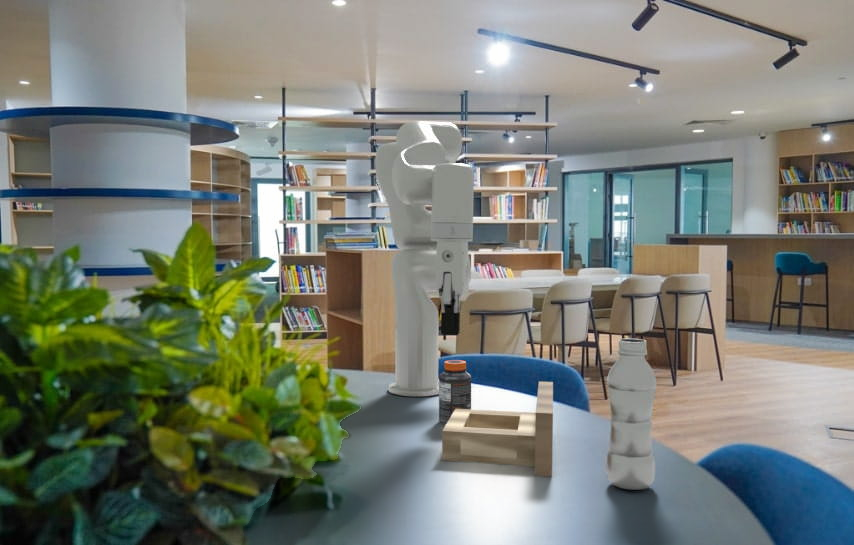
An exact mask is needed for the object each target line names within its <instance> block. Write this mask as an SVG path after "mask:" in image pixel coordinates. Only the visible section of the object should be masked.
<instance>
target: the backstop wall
mask: <svg viewBox="0 0 854 545" xmlns="http://www.w3.org/2000/svg"><path fill="white" fill-rule="evenodd" d="M535 413H536V425H535V466H534V476H538V477H553V436H554V434H553V432H554V431H553V427H554V425H553V423H554V382H553V381H538V387H537V396H536V406H535Z"/></svg>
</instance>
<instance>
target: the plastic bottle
mask: <svg viewBox="0 0 854 545" xmlns="http://www.w3.org/2000/svg"><path fill="white" fill-rule="evenodd" d="M647 344H648V343H647V340H645V339H641V338H640V339H639V338H619V340H618V349H617V354H619V356H618V359H616V361H615V362H614V363H613V365H612V367H611V368H610V370H609V371H608V375H607V377H606V380H607V392H608V397H609V406H610V408H609V410H610V434H609V445H608V450H607V454H606V461H605V472H606V478H607V479H608V481H609V482H610V483H611V484H612V485H613V486H615V487H617V488H620V489H625V490H631V491H632V490H637V491H638V490H645V489H648V488H650V487H651V485H652V484H653V483H654V480H655V474H656V464H655V457H654V453H653V441H652V439H653V438H652V419H653V407H654V401H655V397H656V396H655V395H656V388H657V379H656V378H657V377H656V374H655V372H654V370H653V369H652V367H651V365H650V364H649V362H648V361H647V359H646V357H645V356H647V355H648V350H647Z"/></svg>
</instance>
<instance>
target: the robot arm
mask: <svg viewBox="0 0 854 545" xmlns="http://www.w3.org/2000/svg"><path fill="white" fill-rule="evenodd" d="M462 147H463V137H462V133H461V131H460V130H459V128H458V126H457V125H456V124H453V123H452V122H448V121H432V120H431V121H429V120H428V121H427V120H412V121H411V120H410V121H408V122H406V123H404V124H402V125H401V126H400V128H399V129H397V132H396V137H395V141H391V142H388V143H384V144H382V145H381V146H379V147H378V149H377V150H376V153H375V157H374V161H375V162H374V164H375V165H374V167H375V174H376V178H377V182H378V186H379V188H380V190H381V193H382V194H383V196H384V198H385V200H386V203H387V206H388V209H389V210H388V211H389V216H390V217H389V218H390V225H391V229H392V230H391V231H392V236H393V237H392V238H393V239H394V243H395V246H396V247H397V248H398V249H399V250H400V251H398V252H396V253H395V255H393V258H392V260H391V276H392V281H393V289H394V299H395V300H394V301H395V302H394V303H395V308H394V309H395V344H394V345H395V354H394V356H395V362H394V364H395V365H394V366H395V368H394V369H395V373H394V374H395V375H394V376H395V378H394V380H395V381H394V382H391V383H390V384H388V392H389V393H390V394H394V395H397V396H403V397H415V398H417V397H419V398H420V397H431V396H432V397H433V396H437V395H438V396H439V332H440V333H441V335H442V336H458V335H459V334H460V329H461V327H460V326H461V323H460V322H461V320H460V319H461V311H460V303H461V300H460V299H461V298H463V297H465V296H466V295H468V293H469V291H470V288H469V287H470V286H469V285H470V282H471V279H472V268H471V267H472V266H471V262H470V256H469V247H468V243H469V242H474V241H473V239H474V193H475V192H474V185H475V184H474V182H475V174H474V169H473V167H472V166H470V165H469V164H465V163H458V162H457V161H458V159H459V157H460V155H461V153H462V150H463V148H462ZM456 162H457V163H456ZM426 206H431V210H428V209H426ZM429 292H430V293H433V292H436V295H437V297H441V312H440V313H441V314H439V311H438V310H439V309H438V307H437V306H436V304H435V303H434V301H432V299H431V298H430V297H429V295H428V293H429ZM439 315H441V316H440V318H439ZM439 319H440V320H439ZM439 321H440V324H439ZM439 325H440V331H439Z"/></svg>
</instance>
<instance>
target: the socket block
mask: <svg viewBox="0 0 854 545" xmlns="http://www.w3.org/2000/svg"><path fill="white" fill-rule="evenodd" d="M535 425H536V412H530V411H529V412H528V411H526V412H525V411H508V410H490V409H489V410H488V409H472V408H471V409H455V410H454V412H453V414H452V415H451V417H450V419H449V420H448V422H447V424H446V425H445V424H444V427H443V429H442V431H441V432H442V433H441V434H442V435H441V445H442V446H441V460H442V461H449V462H464V463H479V464H480V463H481V464H494V465H495V464H496V465H510V466H525V467H526V466H527V467H535Z"/></svg>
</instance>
